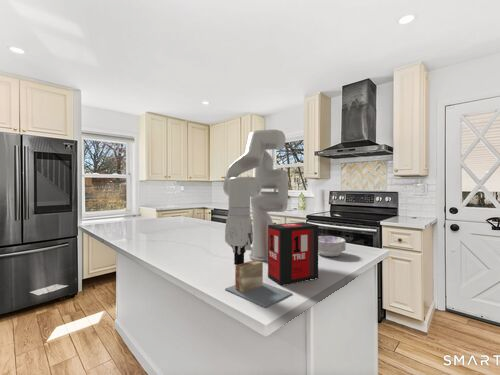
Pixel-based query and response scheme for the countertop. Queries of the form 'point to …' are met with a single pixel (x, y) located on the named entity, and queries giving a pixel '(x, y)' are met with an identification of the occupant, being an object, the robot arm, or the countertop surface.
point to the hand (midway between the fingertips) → (239, 264)
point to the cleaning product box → (292, 252)
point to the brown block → (248, 276)
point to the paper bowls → (331, 245)
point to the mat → (262, 294)
